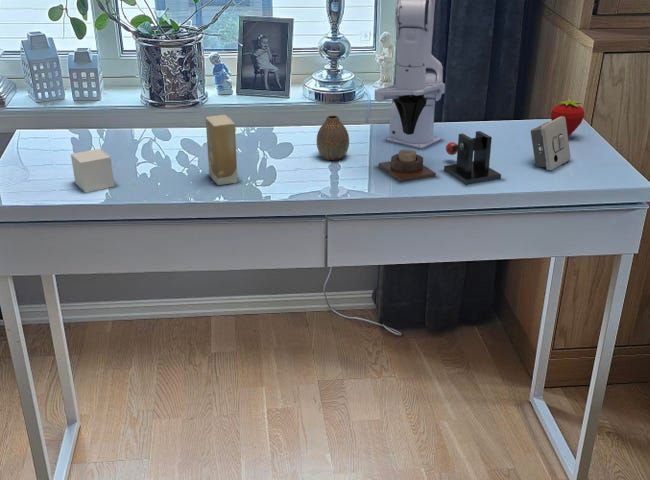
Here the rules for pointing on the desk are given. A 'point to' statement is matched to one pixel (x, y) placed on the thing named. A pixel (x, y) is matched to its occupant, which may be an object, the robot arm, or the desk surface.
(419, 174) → the control block
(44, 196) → the desk surface
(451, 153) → the red knob lever
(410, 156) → the button
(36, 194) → the desk surface
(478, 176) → the black lever base
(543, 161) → the electrical switch
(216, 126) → the cosmetic box
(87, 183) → the beige cube
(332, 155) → the vase
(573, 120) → the strawberry
